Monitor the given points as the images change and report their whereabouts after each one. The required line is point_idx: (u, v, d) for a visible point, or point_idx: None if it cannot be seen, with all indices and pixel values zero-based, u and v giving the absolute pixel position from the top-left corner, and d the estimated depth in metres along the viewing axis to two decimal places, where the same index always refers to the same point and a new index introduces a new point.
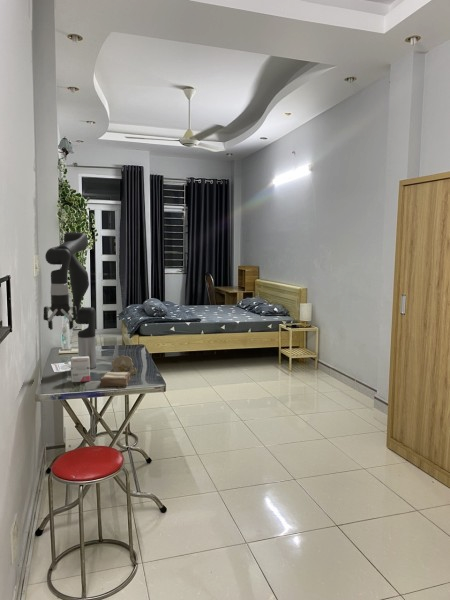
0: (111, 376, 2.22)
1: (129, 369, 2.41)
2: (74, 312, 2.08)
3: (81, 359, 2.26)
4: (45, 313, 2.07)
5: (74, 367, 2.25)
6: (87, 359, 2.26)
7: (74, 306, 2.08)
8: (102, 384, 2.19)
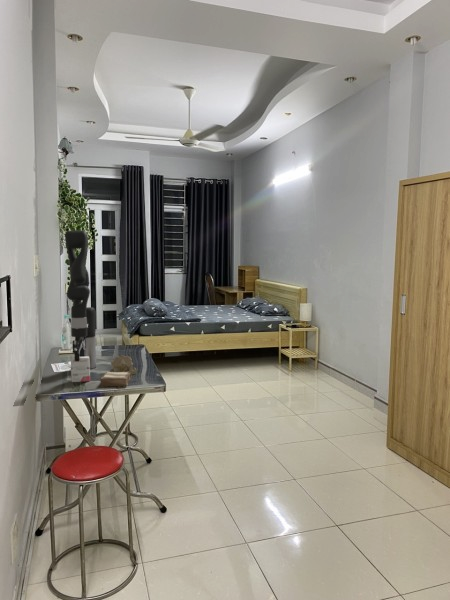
0: (111, 376, 2.22)
1: (129, 369, 2.42)
2: (85, 341, 2.33)
3: (81, 359, 2.26)
4: (78, 346, 2.21)
5: (74, 367, 2.25)
6: (87, 359, 2.26)
7: None
8: (102, 384, 2.19)
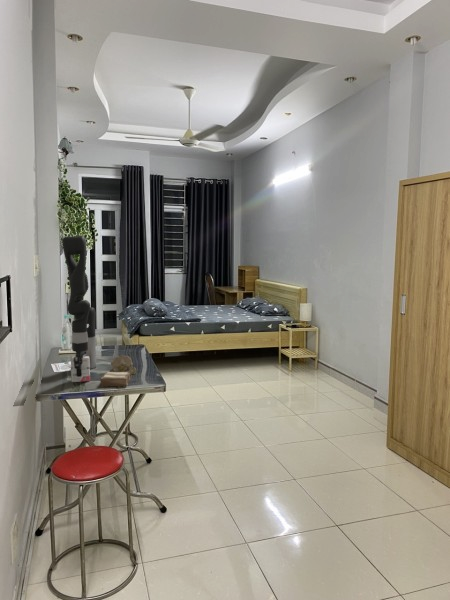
0: (111, 376, 2.22)
1: (128, 369, 2.42)
2: None
3: None
4: (79, 362, 2.22)
5: None
6: (87, 359, 2.26)
7: (84, 351, 2.34)
8: (102, 384, 2.19)
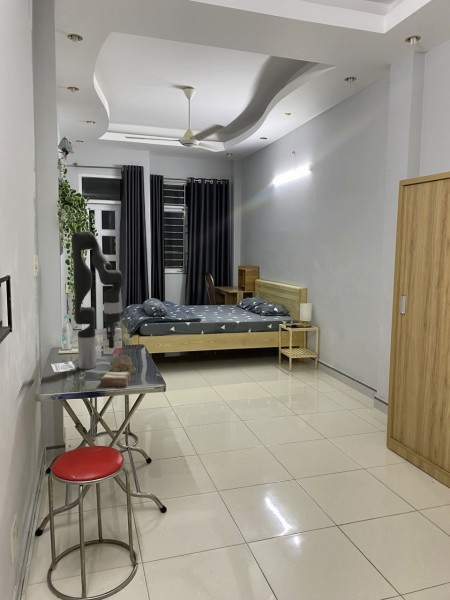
0: (111, 376, 2.22)
1: (128, 368, 2.43)
2: None
3: None
4: (112, 333, 2.17)
5: (106, 339, 2.20)
6: (119, 330, 2.21)
7: None
8: (102, 384, 2.19)
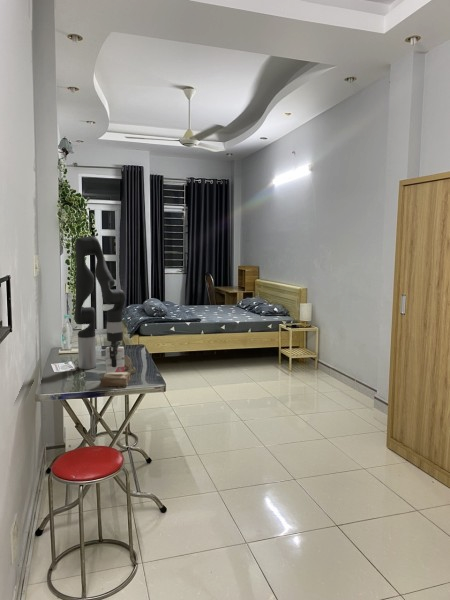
0: (111, 376, 2.22)
1: (128, 368, 2.43)
2: None
3: (116, 349, 2.21)
4: None
5: (108, 358, 2.21)
6: (122, 349, 2.22)
7: (118, 342, 2.30)
8: (102, 384, 2.19)
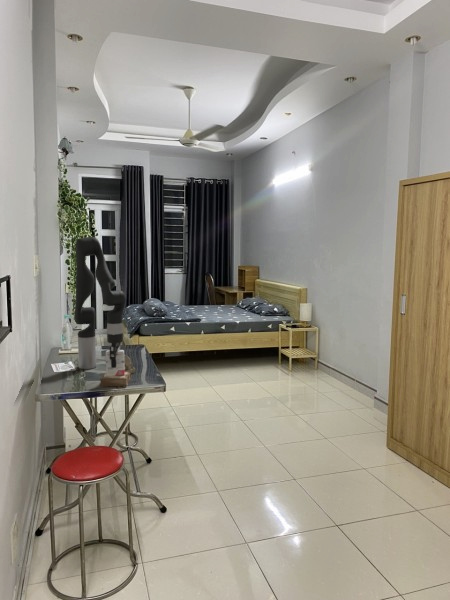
0: (111, 376, 2.22)
1: (128, 368, 2.43)
2: (120, 346, 2.30)
3: None
4: (115, 353, 2.18)
5: (108, 361, 2.22)
6: (122, 352, 2.22)
7: None
8: (102, 384, 2.19)
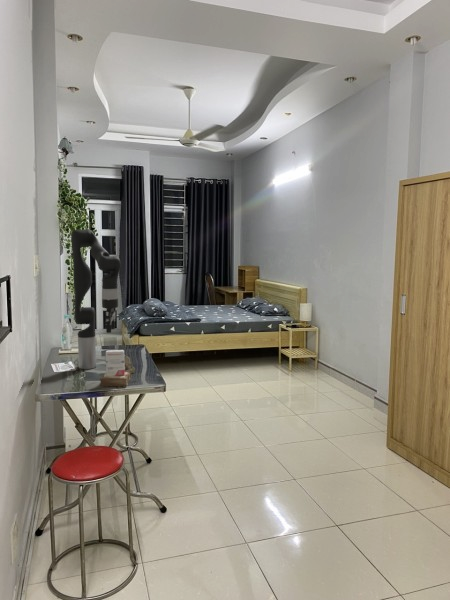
0: (111, 376, 2.22)
1: (127, 368, 2.44)
2: (115, 313, 2.31)
3: (116, 352, 2.22)
4: (110, 317, 2.19)
5: (108, 361, 2.22)
6: (122, 352, 2.22)
7: (113, 307, 2.31)
8: (102, 384, 2.19)
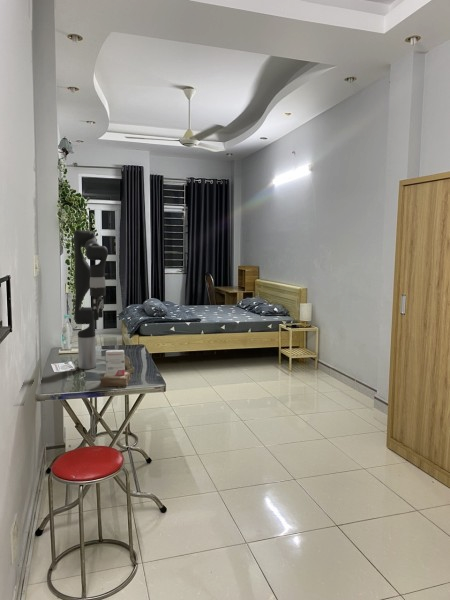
0: (111, 376, 2.22)
1: (127, 368, 2.44)
2: (103, 301, 2.37)
3: (116, 352, 2.22)
4: (97, 305, 2.24)
5: (108, 361, 2.22)
6: (122, 352, 2.22)
7: None
8: (102, 384, 2.19)
